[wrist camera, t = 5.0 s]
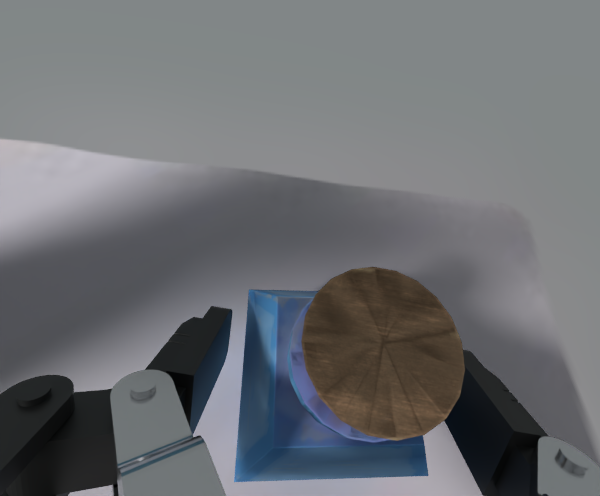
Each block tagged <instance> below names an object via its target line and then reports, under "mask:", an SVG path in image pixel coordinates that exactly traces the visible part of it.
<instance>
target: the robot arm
mask: <svg viewBox="0 0 600 496" xmlns="http://www.w3.org/2000/svg"><path fill="white" fill-rule="evenodd" d="M231 320H232V310H231V309H226V308H220V307H214V306H211V307H210V309H209V310H208V312H207V313H206V314H205V316H204V317H203V319H202V318H197V317H193V318H191V319H190V320H188V321H186V322H184V323H182V324H181V326H180V327H179V328H178V329H177V331H176V332H175V334H173V336H172V337H171V338H170V339H169V341H168V342H167V343H166V344H165V345H164V347H163V348H162V349H161V350H160V352H159V353H158V354H157V355H156V357H155V358H154V359H153V360H152V362H151V363H150V364H149V365H148V367H147V368H146V369H145V370H142V371H137V372H134V373H132V374H129V375H127V376H125V377H124V378H122V379H121V380H120V381H119V382H117V383H116V385H115V386H114V387H113V389H108V390H99V391H87V392H75V393H74V387H73V383H72V381H71V380H70V379H68V378H67V377H64V376H60V375H45V376H39V377H35V378H31V379H28V380H25V381H23V382H20V383H18V384H16V385H14V386H12V387H11V388H9V389H7V390H6V391H5V392H3V393H2V394H1V395H0V496H68V494H69V493H70V492H75V491H81V490H86V489H92V488H97V487H103V486H109V485H112V493H113V496H226V494H225V492H224V489H223V487H222V484H221V482H220V479H219V476H218V474H217V471H216V469H215V466H214V464H213V461H212V458H211V456H210V453H209V451H208V448H207V446H206V443H205V441H204V439H203V438H202V437H201V436H196V437H193V433H194V431H195V429H196V426H197V424H198V422H199V419H200V417H201V415H202V413H203V410H204V408H205V406H206V403H207V401H208V399H209V397H210V394H211V392H212V390H213V387H214V385H215V383H216V381H217V378H218V376H219V374H220V371H221V369H222V367H223V365H224V362H225V359H226V356H227V351H228V346H229V337H230V329H231ZM463 357H464V366H465V372H464V378H463V383H462V388H461V393H460V397H459V398H458V400H457V402H456V403H455V405H454V407H453V408H452V410H451V412H450V413H449V415H448V417H447V418H446V419H445V420H444V421H445V422H446V424H447V426H448V428H449V430H450V432H451V434H452V436H453V438H454V440H455V442H456V444H457V446H458V448H459V450H460V452H461V454H462V456H463V458H464V459H465V461H466V463H467V465H468V467H469V469H470V471H471V473H472V475H473V477H474V479H475V481H476V483H477V485H478V487H479V489H480V491H481V493H482V494H483V496H600V467H599V466H598V465H597V464H596V463H595V462H594V461H593V460H592V459H591V458H589V457H588V456H587V455H586V454H584V453H583V452H582V451H580V450H579V449H577V448H576V447H574V446H572V445H570V444H569V443H567V442H565V441H562V440H560V439H557V438H554V437H549V436H548V435H547V434H546V433H545V432H544V430H543V429H542V428H541V427H540V426H539V425H538V423H537V422H536V421H535V420H534V419H533V418H532V417H531V415H530V414H529V413H528V412H527V411H526V410H525V408H524V407H523V406H522V405H521V404H520V403H518V400H517V399H516V398H515V397H514V396H513V395H512V393H509V390H508V389H507V388H506V386H505V385H504V384H503V383H502V382H501V381H500V379H499V378H497V377H496V376H495V375H493V374H492V373H491V372H490V371H488V370H487V369H486V368H484V367H483V365H482V364H481V363H480V362H479V361H478V359H477V358H476V357H475V356H474V355H473V354H472V353H471V352H470V351H467V350H463Z"/></svg>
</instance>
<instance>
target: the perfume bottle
mask: <svg viewBox="0 0 600 496" xmlns="http://www.w3.org/2000/svg"><path fill="white" fill-rule="evenodd" d="M464 372H465V366H464V357H463V348H462V342H461V340H460V337H459V335H458V332H457V330H456V327H455V325H454V322H453V320H452V318H451V316H450V315H449V314H448V312H447V311H446V309H445V308H444V307H443V305H442V304H441V303H440V301H439V300H438V299H437V297H436V296H434V295H433V294H432V293H431V292H430V291H428V290H427V289H426V288H425V287H424V286H422V285H421V284H420V283H419V282H418V281H416V280H414V279H412V278H410V277H407V276H405V275H403V274H401V273H399V272H397V271H393V270H388V269H382V268H377V267H368V268H360V269H351V270H349V271H347V272H345V273H343V274H341V275H339V276H336V277H334V278H332V279H331V280H330V281H329V282H328V283H327V284H326V285H325V286H324V287H323V288H322V289H321V290H320V291H286V290H249V297H248V310H247V323H246V336H245V349H244V362H243V375H242V388H241V401H240V414H239V427H238V440H237V453H236V466H235V479H234V482H247V481H278V480H309V479H341V478H372V477H404V476H428V469H427V462H426V454H425V446H424V440H423V435H425V434H426V433H427V432H429V431H430V430H432V429H433V428H434V427H436V426H437V425H438V424H440V423H441V422H443V421H444V420H445V419H446V418H447V417H448V415H449V413H450V412H451V410H452V408H453V407H454V405H455V403H456V402H457V400H458V398H459V397H460V393H461V388H462V383H463V378H464Z"/></svg>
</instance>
